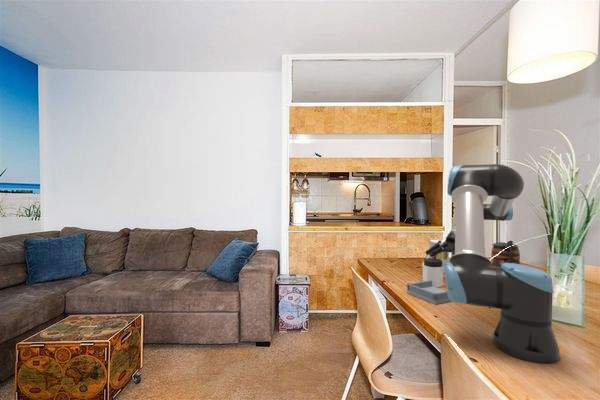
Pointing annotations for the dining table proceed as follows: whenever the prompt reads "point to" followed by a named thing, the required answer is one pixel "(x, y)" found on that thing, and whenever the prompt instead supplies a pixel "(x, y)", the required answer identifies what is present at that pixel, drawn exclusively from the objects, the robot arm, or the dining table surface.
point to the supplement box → (440, 254)
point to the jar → (433, 271)
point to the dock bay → (428, 292)
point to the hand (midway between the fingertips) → (434, 269)
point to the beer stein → (505, 254)
